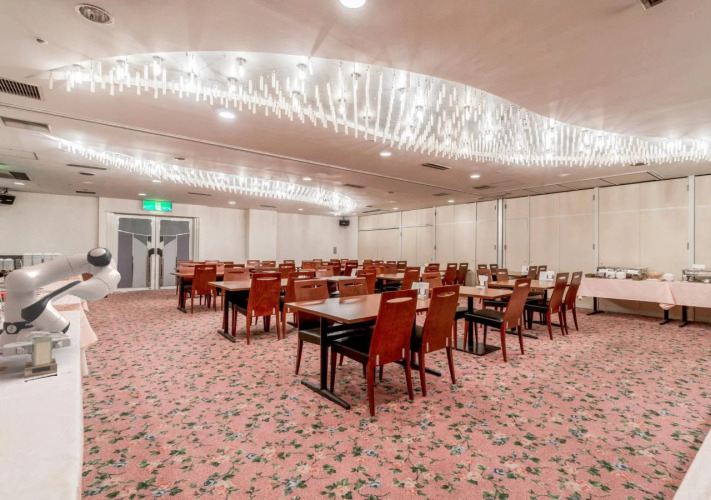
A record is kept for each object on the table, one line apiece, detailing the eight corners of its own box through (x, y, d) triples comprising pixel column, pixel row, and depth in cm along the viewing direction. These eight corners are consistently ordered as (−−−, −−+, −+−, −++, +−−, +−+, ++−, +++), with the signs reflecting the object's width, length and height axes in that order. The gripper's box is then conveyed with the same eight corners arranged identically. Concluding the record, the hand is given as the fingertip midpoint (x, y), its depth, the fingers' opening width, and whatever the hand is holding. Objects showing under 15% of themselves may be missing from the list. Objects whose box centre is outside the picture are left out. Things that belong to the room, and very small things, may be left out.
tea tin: (31, 371, 131) (32, 337, 131) (48, 368, 135) (49, 335, 135) (34, 374, 128) (34, 339, 128) (51, 371, 132) (51, 337, 132)
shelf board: (26, 365, 142) (26, 355, 142) (55, 360, 148) (55, 351, 148) (24, 381, 124) (24, 369, 124) (57, 375, 131) (57, 364, 131)
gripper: (-1, 340, 132) (3, 346, 123) (66, 330, 148) (75, 335, 139) (-2, 356, 132) (3, 363, 123) (66, 345, 148) (74, 351, 139)
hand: (41, 349), depth 131 cm, fingers open, 8 cm apart
